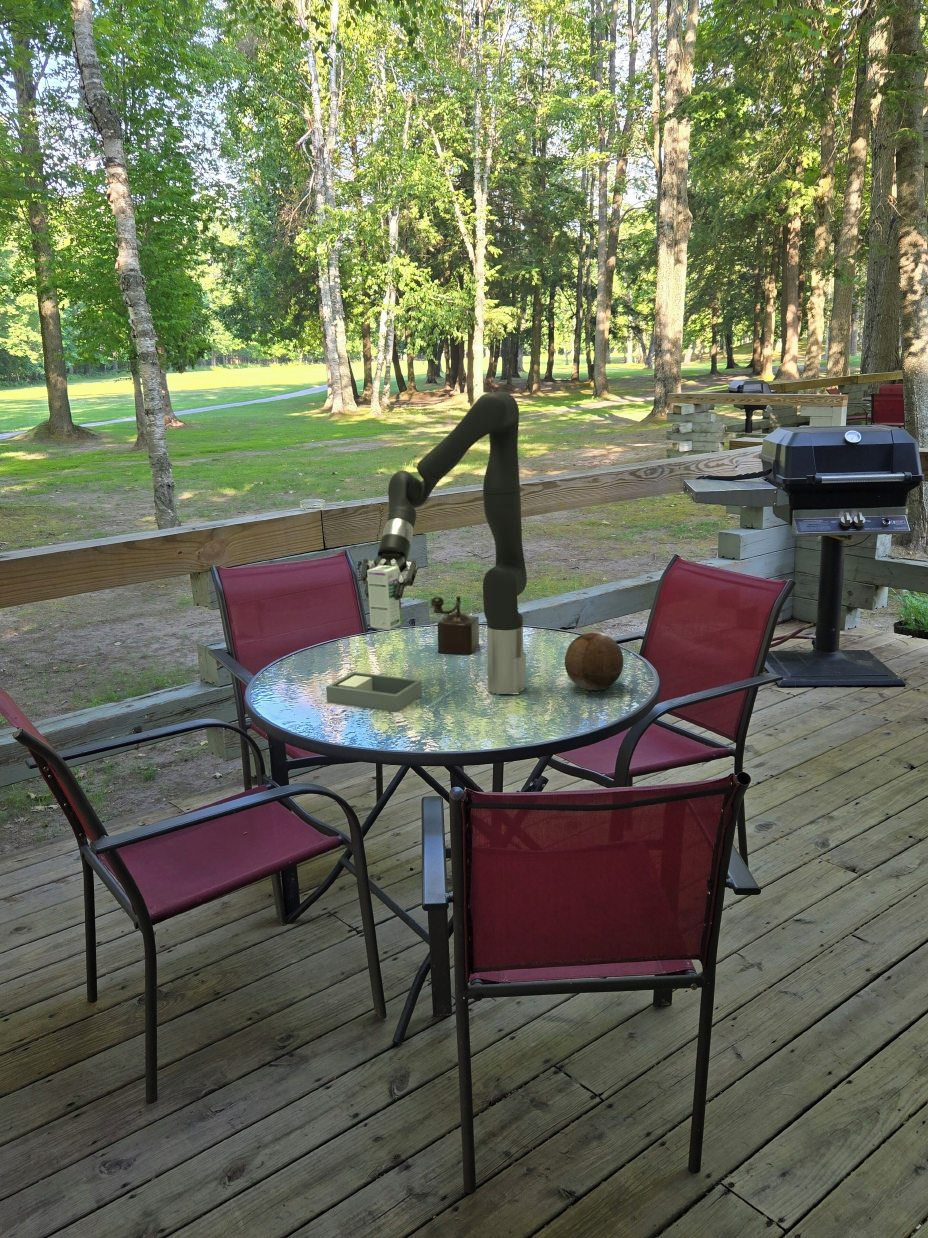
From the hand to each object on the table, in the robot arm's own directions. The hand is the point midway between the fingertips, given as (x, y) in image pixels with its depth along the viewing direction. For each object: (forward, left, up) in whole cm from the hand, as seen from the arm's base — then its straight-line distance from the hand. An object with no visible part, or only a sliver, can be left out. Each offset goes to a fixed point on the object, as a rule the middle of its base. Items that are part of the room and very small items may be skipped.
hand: (382, 597), depth 218 cm
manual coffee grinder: (+4, -49, -28) cm, 57 cm away
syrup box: (0, -2, -8) cm, 8 cm away
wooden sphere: (-44, -31, -28) cm, 61 cm away
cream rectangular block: (+10, -1, -27) cm, 29 cm away
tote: (+4, -1, -28) cm, 28 cm away
